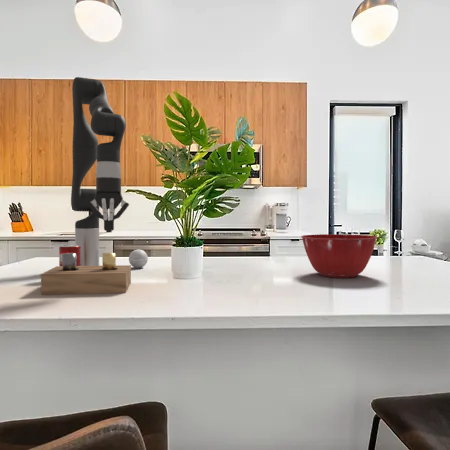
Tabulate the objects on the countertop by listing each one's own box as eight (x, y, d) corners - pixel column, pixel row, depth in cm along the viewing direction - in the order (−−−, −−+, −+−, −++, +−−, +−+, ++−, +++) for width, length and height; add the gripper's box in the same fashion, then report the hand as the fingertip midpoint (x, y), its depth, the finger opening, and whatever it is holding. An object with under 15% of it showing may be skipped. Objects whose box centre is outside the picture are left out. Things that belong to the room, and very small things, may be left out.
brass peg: (103, 271, 125) (103, 252, 125) (116, 271, 126) (116, 252, 126) (101, 273, 121) (101, 254, 121) (114, 273, 122) (114, 254, 122)
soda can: (73, 281, 135) (73, 246, 135) (54, 280, 137) (54, 246, 136) (85, 277, 142) (85, 244, 142) (67, 276, 144) (67, 244, 143)
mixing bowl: (293, 278, 144) (294, 236, 144) (307, 268, 171) (308, 232, 170) (375, 284, 134) (376, 239, 133) (377, 272, 160) (377, 234, 159)
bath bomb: (130, 266, 171) (130, 248, 171) (148, 266, 172) (148, 248, 171) (127, 269, 163) (127, 250, 163) (147, 269, 164) (146, 250, 164)
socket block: (56, 284, 129) (56, 266, 129) (130, 282, 133) (130, 265, 133) (41, 294, 113) (41, 274, 113) (125, 292, 117) (125, 272, 117)
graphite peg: (64, 271, 124) (64, 253, 123) (77, 271, 124) (77, 252, 124) (61, 273, 120) (60, 254, 120) (74, 273, 120) (74, 254, 120)
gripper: (131, 178, 127) (131, 231, 128) (89, 177, 125) (89, 231, 126) (129, 176, 120) (129, 232, 121) (84, 175, 118) (84, 232, 119)
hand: (108, 232), depth 123 cm, fingers closed
